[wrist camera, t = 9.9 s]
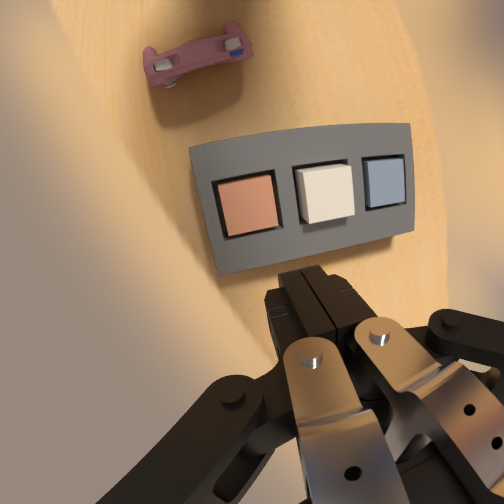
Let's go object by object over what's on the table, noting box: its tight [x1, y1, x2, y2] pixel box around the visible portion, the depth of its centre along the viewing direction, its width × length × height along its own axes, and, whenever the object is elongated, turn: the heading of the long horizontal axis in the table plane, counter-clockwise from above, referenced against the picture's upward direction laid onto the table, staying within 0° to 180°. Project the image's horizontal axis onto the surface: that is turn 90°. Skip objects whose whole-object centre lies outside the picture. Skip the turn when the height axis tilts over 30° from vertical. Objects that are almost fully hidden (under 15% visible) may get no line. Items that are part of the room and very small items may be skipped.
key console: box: [189, 123, 415, 276], centre depth 26 cm, size 12×22×4 cm, turn 100°
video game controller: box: [143, 21, 253, 88], centre depth 19 cm, size 10×5×7 cm, turn 107°
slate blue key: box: [361, 157, 405, 207], centre depth 25 cm, size 4×4×2 cm
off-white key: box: [295, 164, 355, 224], centre depth 24 cm, size 4×4×2 cm
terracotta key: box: [218, 173, 279, 236], centre depth 24 cm, size 4×4×2 cm
